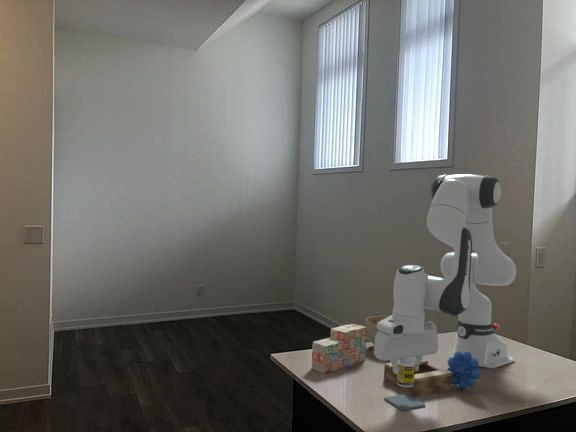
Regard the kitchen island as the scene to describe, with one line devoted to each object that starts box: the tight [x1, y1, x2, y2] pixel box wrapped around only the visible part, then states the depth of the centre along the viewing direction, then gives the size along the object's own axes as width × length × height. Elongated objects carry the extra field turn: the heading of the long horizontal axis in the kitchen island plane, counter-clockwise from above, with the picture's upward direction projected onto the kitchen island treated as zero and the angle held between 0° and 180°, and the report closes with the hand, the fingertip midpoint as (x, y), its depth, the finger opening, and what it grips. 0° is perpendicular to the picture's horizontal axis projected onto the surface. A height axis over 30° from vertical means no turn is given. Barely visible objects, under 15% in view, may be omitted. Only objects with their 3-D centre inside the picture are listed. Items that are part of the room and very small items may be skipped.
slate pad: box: [383, 393, 426, 412], centre depth 139 cm, size 8×8×1 cm
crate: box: [383, 358, 453, 398], centre depth 153 cm, size 15×14×5 cm
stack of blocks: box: [311, 323, 367, 374], centre depth 169 cm, size 21×6×12 cm, turn 133°
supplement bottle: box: [397, 357, 415, 387], centre depth 139 cm, size 5×5×8 cm
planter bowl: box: [365, 315, 390, 345], centre depth 189 cm, size 16×16×11 cm
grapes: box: [446, 351, 482, 390], centre depth 151 cm, size 12×7×12 cm, turn 36°
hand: (405, 371), depth 139 cm, fingers closed on supplement bottle, 5 cm apart
